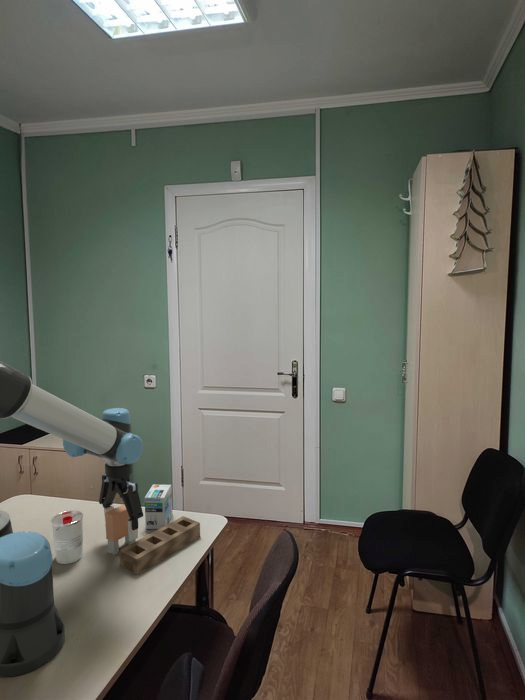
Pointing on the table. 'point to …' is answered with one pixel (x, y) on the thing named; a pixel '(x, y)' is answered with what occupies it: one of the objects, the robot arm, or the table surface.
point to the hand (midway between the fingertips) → (121, 533)
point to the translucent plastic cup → (68, 536)
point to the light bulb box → (158, 506)
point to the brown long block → (159, 545)
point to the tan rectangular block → (117, 528)
